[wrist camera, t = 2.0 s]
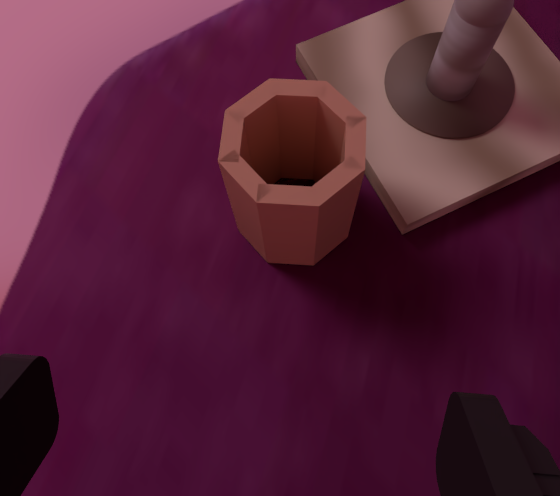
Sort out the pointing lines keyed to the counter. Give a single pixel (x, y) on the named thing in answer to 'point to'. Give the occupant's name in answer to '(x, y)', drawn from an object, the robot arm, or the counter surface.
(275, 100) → the collar
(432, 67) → the post stand
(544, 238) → the counter surface
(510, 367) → the counter surface
